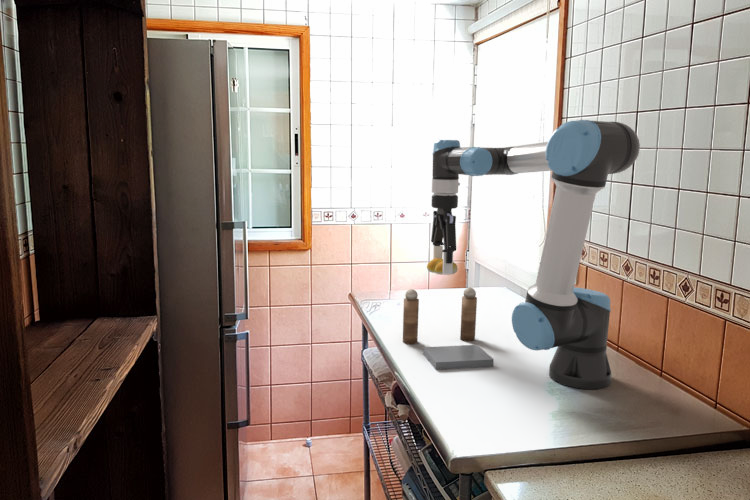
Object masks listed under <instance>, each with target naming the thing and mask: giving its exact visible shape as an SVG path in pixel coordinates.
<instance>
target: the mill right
mask: <svg viewBox="0 0 750 500" xmlns="http://www.w3.org/2000/svg"><path fill="white" fill-rule="evenodd" d="M476 293H477V292H476V290H475V289H474V288H473V287H466V288H465V289H464V291H463V296H462V297H461V315H460V317H461V318H460V334H459V338H460V340H461V341H463V342H474V341H475V339H476V326H477V323H476V322H477V303H478V298H477V295H476Z"/></svg>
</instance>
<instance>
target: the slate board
mask: <svg viewBox="0 0 750 500" xmlns="http://www.w3.org/2000/svg"><path fill="white" fill-rule="evenodd" d="M422 354H423V356H424V357H425V358H426V359H427V361H428V362H429V363H430V364H431V366H432V367H433V368H434V370H435V371H437V370H452V369H454V370H455V369H470V368H471V369H473V368H474V369H475V368H487V367H488V368H490V367H491V368H492V367H494V358H493V357H492V356H491V355H489V353H487V352H486V351H485V350H484V349H483V348H482V347H481V346H480V345H479V344H465V345H464V344H463V345H443V346H441V345H440V346H425V347H424V346H423V353H422Z"/></svg>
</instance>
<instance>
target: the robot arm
mask: <svg viewBox="0 0 750 500" xmlns="http://www.w3.org/2000/svg"><path fill="white" fill-rule="evenodd" d="M640 147H641V144H640V139H639V137H638V134H637V133H636V131H635V130H633V128H631V126H628V125H627V124H625V123H623V122H619V121H603V120H590V119H578V120H569V121H566V122H564V123H562V124H561V125H560V126H558V127H557V128H556V129H554V131H553V132H552V133H551V135H550V136H549V138H548V140H547V141H545V142H538V143H530V144H521V145H514V146H508V147H480V146H477V147H476V146H471V147H468V146H467V147H465V146H464V147H463V146H462V147H461V142H460V140H457V139H437V140H435V141H434V143H433V149H432V151H433V152H432V179H431V193H433V194H432V196H431V207H432V208H433V209H437V210H433V214H432V215H433V216H432V217H433V218H432V219H433V220H432V229H431V238H430V243H432V246H433V248H432V249H433V250H432V254H433V255H432V260H433V259H435V258H441V259H443V276H445V275H444V274H450V275H453V274H452V271H453V262H454V252H456V251H457V233H456V220H457V216H456V215H453V211H452V210H453V209H457V208H458V203H459V196H458V195H457V194H458V192H459V186H460V184H461V183H460V182H459V178H460V177H459V175H463V176H464V175H465V176H470V177H482V176H489V175H490V176H492V175H494V176H495V175H499V176H500V175H503V176H504V175H505V176H512V175H518V174H524V173H525V174H526V173H537V172H538V173H539V172H540V173H541V172H550V171H552V173H551V175H550V176H551V177H550V179H551V180H552V182H553V183H554V184H555V186H556V187H555V190H554V191H555V192H554V197H553V200H552V206H551V210H550V211H551V212H550V215H549V220H548V225H547V230H546V234H545V239H544V243H543V248H542V253H541V257H540V262H539V265H538V266H539V267H538V271H537V276H536V280H535V281H536V282H535V284H533V285H531V286H529V287H528V289H527V290H526V291H527V292H526V296H525V301H523V302H520V303H519V304H518V305H515V307H514V308H513V311H512V313H511V324H512V325H511V326H512V329H513V332H514V333H515V335H516V338H517V340H518V341H519V342H520V343H521V344H522V346H524V347H525V348H527V349H528V350H532V351H548V350H550V349H553V348H556V350H555V351H554V355H553V357H552V360H551V361H550V364H549V369H548V376H549V378H550V379H552V380H553V381H555V382H557V383H559V384H561V385H564V386H568V387H570V388H575V389H576V388H577V389H583V390H596V389H597V390H599V389H603V388H607V387H609V386H610V385H611V384H612V369H611V367H610V362H609V358H608V354H607V347H608V346H607V345H608V336H609V325H610V324H609V323H610V316H611V311H612V309H611V298H610V297H609V296H608V295H607V294H606V293H605V292H601V291H598V290H593V289H588V288H583V287H575V283H576V280H577V275H578V271H579V267H580V262H581V257H582V254H583V250H584V246H585V241H586V237H587V233H588V228H589V224H590V220H591V216H592V213H593V208H594V204H595V199H596V194H597V193H598V192H600V191H602V190H603V189H605V187H606V184H607V179H608V177H609V176H608V175H614V174H620V173H622V172H624V171H626V170H627V169H629V168H631V166H633V164H634V163H635V162H636V160H637V158H638V156H639V154H640ZM443 248H444V249H443Z"/></svg>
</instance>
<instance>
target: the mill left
mask: <svg viewBox="0 0 750 500" xmlns="http://www.w3.org/2000/svg"><path fill="white" fill-rule="evenodd" d="M404 295H405V298H403V314H402V317H403V318H402V343H403V344H406V345H415V344H417V343H418V338H419V337H418V336H419V335H418V333H419V310H420V309H419V305H420V304H419V303H420V301H419V300H420V299H419V298H418V293H417V291H416V290H415V289H411V288H410V289H408V290H406V292H405V294H404Z"/></svg>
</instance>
